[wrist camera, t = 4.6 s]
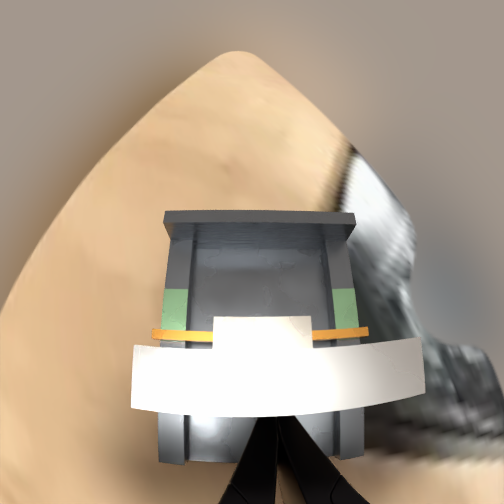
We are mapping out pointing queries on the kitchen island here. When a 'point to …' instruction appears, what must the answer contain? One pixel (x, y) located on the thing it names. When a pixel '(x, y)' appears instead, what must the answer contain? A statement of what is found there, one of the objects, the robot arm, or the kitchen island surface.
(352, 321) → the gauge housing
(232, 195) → the kitchen island surface
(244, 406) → the block
